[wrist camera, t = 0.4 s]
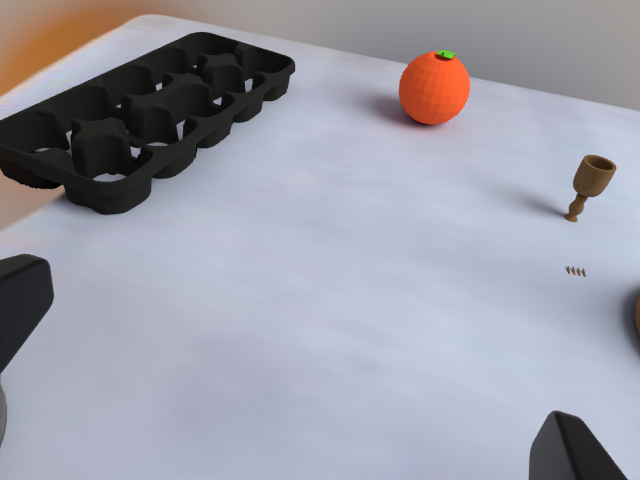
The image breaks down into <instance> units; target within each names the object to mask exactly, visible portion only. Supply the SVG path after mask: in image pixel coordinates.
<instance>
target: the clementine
mask: <svg viewBox="0 0 640 480" xmlns="http://www.w3.org/2000/svg"><path fill="white" fill-rule="evenodd" d="M469 91H470V81H469V76H468V73H467V71H466V68H465V67H464V66H463V65H462V64H461V62H460V61H459V60H458V59H457V58H456V57H455V53H452V52H449V51H446V50H441V51H439V52H429V53H426V54H424V55H421V56H419V57H417V58H416V59H414V60H413V61H412V62H411V63H410V64H409V65H408V66H407V68H406V69H405V71H404V72H403V74H402V76H401V79H400V83H399V97H400V102H401V104H402V106H403V108H404V109H405V111H406V113H408V114H409V115H410V116H411V117H412V118H413V119H414V120H416V121H418V122H421V123H424V124H432V125H434V124H440V123H443V122H447V121H449V120H450V119H452V118H453V117H455V116H456V115H457V114H458V113H459V112H460V111H461V110H462V109H463V107H464V105H465V103H466V101H467V99H468V97H469Z"/></svg>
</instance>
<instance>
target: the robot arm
mask: <svg viewBox="0 0 640 480" xmlns="http://www.w3.org/2000/svg"><path fill="white" fill-rule="evenodd" d="M53 299H54V291H53V284H52V277H51V269H50V265H49V263H48V261H47V260H45V259H43V258H40V257H36V256H33V255H30V254H21V255H17V256H13V257H9V258H6V259H2V260H0V374H1V373H2V371H3V370H4V369H5V368H6V366H7V365H8V364H9V362H10V361H11V360H12V358H13V357H14V356H15V354H16V353H17V352H18V350H19V349H20V348H21V346H22V345H23V344H24V342H25V341H26V340H27V338H28V337H29V336H30V334H31V333H32V332H33V330H34V329H35V328H36V326H37V325H38V323H39V322H40V321H41V319H42V318H43V317H44V315H45V314H46V313H47V311H48V310H49V309H50V307H51V305H52V302H53ZM529 480H628V479H627V478H626V477H625V475H624V474H623V473H622V471H621V470H620V469H619V467H618V466H617V465H616V463H615V462H614V461H613V460H612V458H611V457H610V456H609V454H608V453H607V452H606V450H605V449H604V448H603V446H602V445H601V444H600V442H599V441H598V440H597V439H596V437H595V436H594V435H593V433H592V432H591V431H590V429H589V428H588V427H587V425H586V424H585V423H584V422H583V421H582V420H581V419H580V418H579V417H577V416H574V415H571V414H567V413H564V412H561V411H552V412H551V413H550V414H549V415H548V416H547V418H546V420H545V422H544V424H543V425H542V427H541V429H540V431H539V432H538V434H537V436H536V438H535V439H534V441H533V444H532V446H531V450H530V458H529Z"/></svg>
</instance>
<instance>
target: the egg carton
mask: <svg viewBox="0 0 640 480" xmlns="http://www.w3.org/2000/svg"><path fill="white" fill-rule="evenodd" d="M195 65H197V67H196V68H194V67H193V66H195ZM294 72H295V62H294V60H293V59H291V58H290V57H288V56H286V55H282V54H279V53H276V52H273V51H269V50H266V49H263V48H259V47H256V46H253V45H249V44H246V43H243V42H240V41H236V40H233V39H229V38H226V37H222V36H219V35H216V34H212V33H208V32H196V33H191V34H188V35H186V36H184V37H182V38H180V39H178V40H176V41H173V42H171V43H169V44H167V45H165V46H162V47H161V48H158V49H156V50H154V51H151V52H149V53H147V54H145V55H143V56H141V57H139V58H136V59H134V60H132V61H130V62H128V63H125V64H123V65H121V66H119V67H116V68H114V69H112V70H110V71H108V72H106V73H103V74H101V75H99V76H97V77H95V78H93V79H90V80H88V81H86V82H84V83H82V84H80V85H77V86H75V87H73V88H71V89H68V90H66V91H64V92H62V93H60V94H57V95H55V96H53V97H51V98H49V99H46V100H44V101H42V102H40V103H38V104H35V105H33V106H31V107H29V108H27V109H24V110H22V111H20V112H18V113H16V114H13V115H11V116H9V117H7V118H4V119H2V120H0V169H1V171H2V172H3V174H4V175H5V176H6V177H8V178H10V179H12V180H14V181H16V182H18V183H19V184H21V185H22V184H23V185H26V186H29V187H31V188H36V189H38V188H39V189H56V188H58V187H59V186H61V185H64V188H65V191H66V194H67V197H68V199H69V201H70V202H72V203H74V204H76V205H79V206H84V207H88V208H91V209H93V210H94V211H96V212H98V213H100V214H103V215H108V214H117V213H125V212H127V211H129V210H131V209H132V208H134V207H136V206H137V205H139V204H140V203H142V202H143V201H145V200H146V199H147V198H148V197H149V195H150V193H151V178H156V179H165V178H171V177H174V176H176V175H177V174H179V173H180V172H182V171H183V170H184V169H186V168H187V167H188V166H189V165H190V164H191V163H192V162H193V160H194V158H196V153H197V148H209V147H213V146H215V145H216V144H218V143H219V142H220V141H222V140H223V139H224V138H225V137H227V136H228V135H229V134H230V130H231V125H232V124H233V122H234V123H242V122H246V121H248V120H250V119H252V118H253V117H254V116H256V115H257V114H258V113H259V112H260V111H261V109H262V103H263V101H274V100H277V99H278V98H280V97H281V96H282V95H284V94H285V93H286V91H287V88H288V84H289V78H290V75H291V74H293V73H294ZM248 79H253V83H252V90H251V91H250V92H245V82H244V81H246V80H248ZM159 83H162V89H160V90H158V91H157V90H156V85H157V84H159ZM220 97H222V101H221V105H218V104H215V103H213V100H216V99H218V98H220ZM119 104H121V108H118V107H116V106H117V105H119ZM185 119H186V120H185ZM183 120H185V124H184V125H183V139H181V140H180V141H179V138H178V132H177V127H176V125H177V124H178V123H180V122H182V121H183ZM126 129H127V130H129V134H128V135H127V131H126ZM70 130H72V134H71V150H72V157H71V155H70V154H69V153H68V152H67V151H66V150H68V149H70V145H69V142H68V139H67V136H66V133H67V132H69V131H70ZM154 142H162V143H166V144H169V145H168V146H151V145H147V144H149V143H154ZM130 146H131V147H134V148H141V149H140V154H139V155H138V157H137V158H136V157H133V156H132V155H131V149H130ZM41 148H51V149H48V150H45V151H42V152H41V151H39V150H37V149H41ZM105 173H108V174H110V175H115V174H122V175H125V176H127V177H126V178H124V179H121V180H117V181H113V182H101V181H95V180H93V178H95V177H97V176H99V175H101V174H105Z"/></svg>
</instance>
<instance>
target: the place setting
mask: <svg viewBox="0 0 640 480" xmlns="http://www.w3.org/2000/svg"><path fill="white" fill-rule="evenodd" d="M615 170H616V166H615V164H614V163H613V162H611V161H610V160H608V159H606V158H603V157H600V156H596V155H587V156H585V157H584V158H583V160H582V162H581V164H580V166H579V168H578V170H577V172H576V174H575V177H574V181H573V187H574V189H575V191H576V192H577V193H578V194H577V195H576V199H575V200H574V201H573V202H572V203H571V204H570V205H569V213H568V214H565V215H564V217H565V219H567V220H568V221H571V222H576V221H577V217H576V216H577V215H578V214H580V213H581V212H582V211H583V208H584V202H585V201H586V200H587V199H588V197H595V196H598V195H599V194H601V193H602V192H603V190H604V189H605V188H606V186H607V185H608V183H609V181H610V180H611V178H612V176H613V175H614V173H615ZM568 273H569V274H570V270H569V266H568ZM573 274H574V275H575V270H574V267H573ZM578 275H579V276H580V271H579V268H578ZM583 275H584V277H586V275H585V271H584V269H583ZM634 320H635V325H636V329H637V332H638V335H639V338H640V295H639V297H638V299H637V301H636V305H635V309H634Z"/></svg>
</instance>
